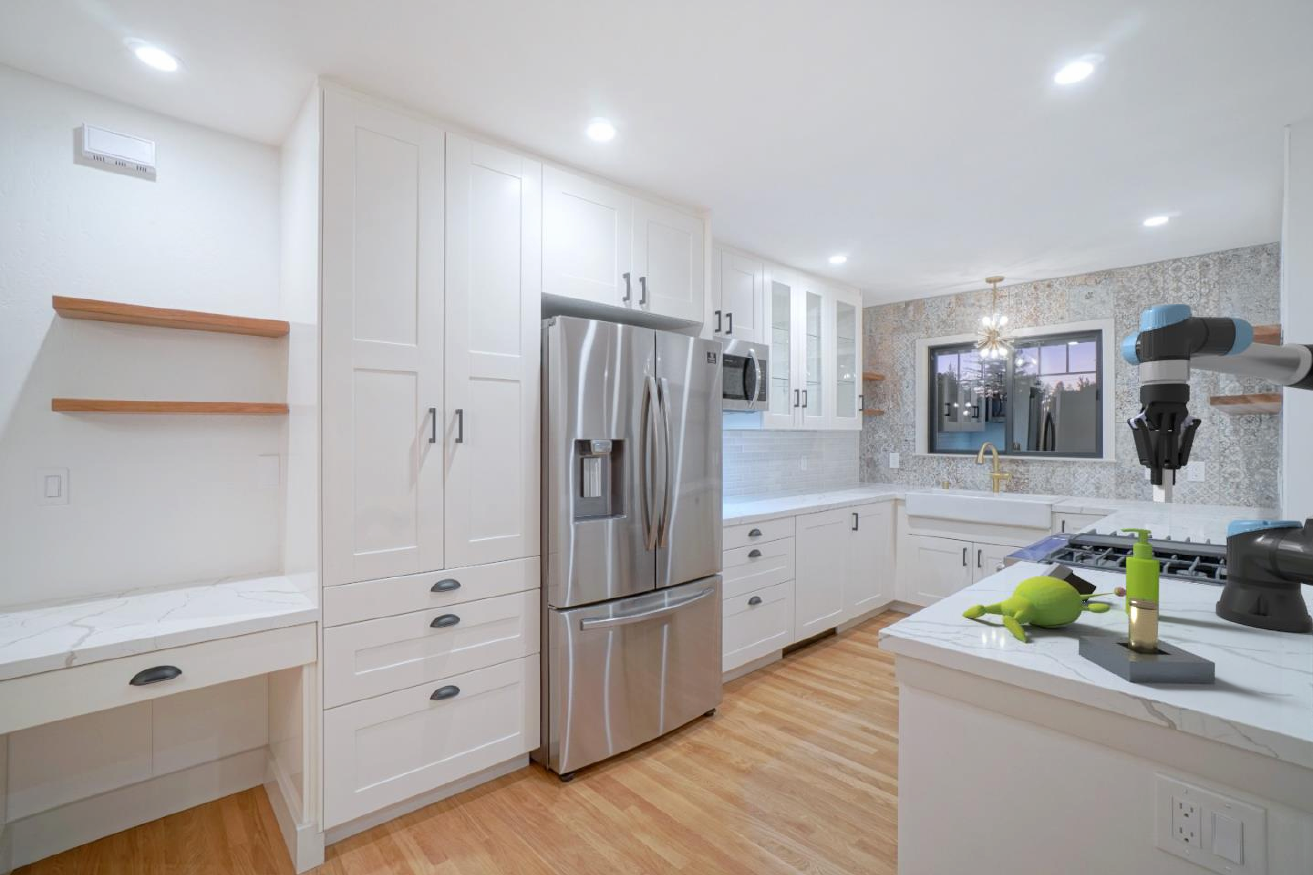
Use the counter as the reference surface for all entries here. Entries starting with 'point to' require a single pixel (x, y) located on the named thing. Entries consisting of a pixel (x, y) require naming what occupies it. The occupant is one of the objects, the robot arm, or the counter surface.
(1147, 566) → the soap dispenser
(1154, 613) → the gold metallic cylinder
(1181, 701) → the counter surface
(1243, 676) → the counter surface
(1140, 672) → the jig
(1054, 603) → the toy
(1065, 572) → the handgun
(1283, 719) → the counter surface
